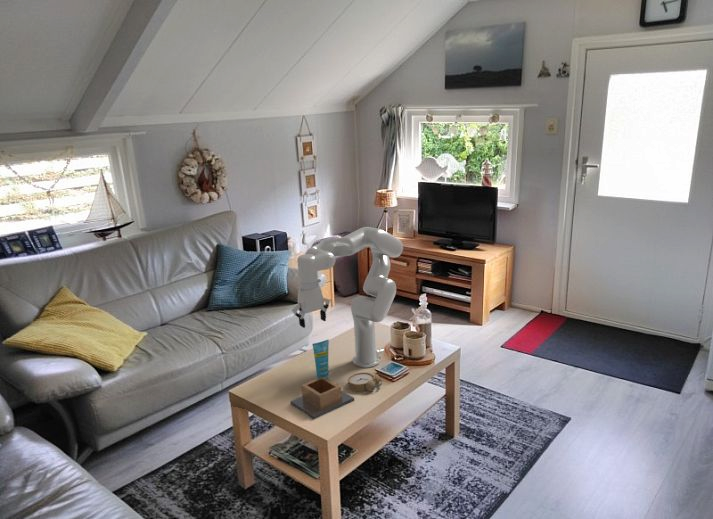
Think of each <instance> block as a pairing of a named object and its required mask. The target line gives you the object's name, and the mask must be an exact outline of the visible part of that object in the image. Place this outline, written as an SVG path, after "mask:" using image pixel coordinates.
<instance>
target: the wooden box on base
mask: <svg viewBox="0 0 713 519" xmlns="http://www.w3.org/2000/svg"><path fill="white" fill-rule="evenodd" d="M354 401H355V397H353V396H352V395H351V394H349V393H347V392H345V391H343V390H342V386H340V385H339V384H337V383H335V382H333V381H331V380H330V379H329V380H328V379H327V378H325V377H323V376H322V377H320V378H317V377H316V378H315V379H313V380H310V381H308V382H305V383H303V384H301V396H299V397H297V398H294V399H292V400H290V405H292V406H293V407H295V408H297V410H299V411H301V413H304V414H305V415H306V416H308V417H309V418H311V419H312V420H316V419H318V418H320V417H323V416H324V415H326V414H328V413H330V412H332V411H335V410H337V409H340V408H341V407H343V406H345V405H347V404H349V403H352V402H354Z"/></svg>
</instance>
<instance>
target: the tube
mask: <svg viewBox="0 0 713 519" xmlns="http://www.w3.org/2000/svg"><path fill="white" fill-rule="evenodd" d="M329 343H330V340H329V339H326V340H323V341H320V342H314V343H312V350H313V356H314V362H315V372H316V373H315V374H316V379H317V378H320V377H322V376H323V377H325V378H327V379H328V380H330V379H329V376H330V375H329V373H330V372H329Z"/></svg>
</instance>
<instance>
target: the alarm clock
mask: <svg viewBox="0 0 713 519" xmlns="http://www.w3.org/2000/svg"><path fill="white" fill-rule="evenodd" d="M345 385H347V386H348V388H349V389H350V390H351V391H353V392H354V391H355V392H365V391H367V392H373V391H374V390H375V388H379V387H381V386H383V379H382V378H381V377H380V376H379V374H376V373H374V374H373V373H370V372H364V371H362V372H356V373H353V374H352V375H349V376H348V378H347V383H345Z"/></svg>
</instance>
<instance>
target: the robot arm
mask: <svg viewBox="0 0 713 519" xmlns="http://www.w3.org/2000/svg"><path fill="white" fill-rule="evenodd" d="M366 248H370V252H371V255H372V262H371V263H372V264H371V267H370V269H369V272H368V274H367V276H366V278H365V281H364V283H363V285H362V289H363V291H364V293H366V295H369V296H370V297H368V296H366V295H359V296H356V297H354V298H353V299H352V301H351V302H350V311H351V315H352V319H353V330H354V349H355V356H354V357H353V358H352V363H353V365H354V366H356V367H358V368H372V367H375V366H377V365H379V363H380V362H381V359H380V357H379V356H380V354H383V353H385V349H383V348H381V349H379V348H377V344H376V343H377V342H376V341H377V340H376V323H381V322H383V321H384V319H385V318H386V317H387V315H388V313H389V310H390V308H391V306H392V303H393V301H394V300H395V299H394V298H395V297H396V293H397V285H396V282H395V281H394V280H393V279H391V278H388V277H389V273H390V271H391V260H390V258H393V259H394V258H398V257H399V256H401V255H402V253H403V251H404V245H403V242H402V240H400V239H399V238H398V237H396V236H394V235H392V234H391V233H390V232H387V231H385V230H383V229H381V228H377V227H371V226H363V227H360V228H359V229H356V230H354V231H352V232H350V233H348V234H346V235H343V236H342V237H338V238H333V239H329V240H325V241H322V242H319V243H317V244H315V245H313V246H311V247H309V248H308V249H307V250H306V252H305V254H301V255H299V256H297V260H296V262H297V269H298V270H297V271H298V279H299V280H298V282H299V288H298V289H297V305H296V306H294V307H293V308H292V309H291V311H292V314H294V316H295V317H297V318H298V324H299V326H300V327H302V329H303V328H304V329H305V328H306V320H305V316H306V314H310V313H312V312H316V311H319V316H320V320H321V321H323V322H326V321H327V314H326V313H327V310H328V308H329V306H330V302H331V299H329V298H325V297H323V292H322V288H321V286H320V283H321V282H322V281H321V278H318V277H319V276H318V275H319V274H318V272H320V271H326V270H330V269H332V268H333V267H334V266H335V264H336V257H347V256H348V257H350V256H353V255H354V254H357V253H358V252H360V251H361V250H364V249H366ZM371 296H372V297H375V298H371ZM298 311H299V312H298Z"/></svg>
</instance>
